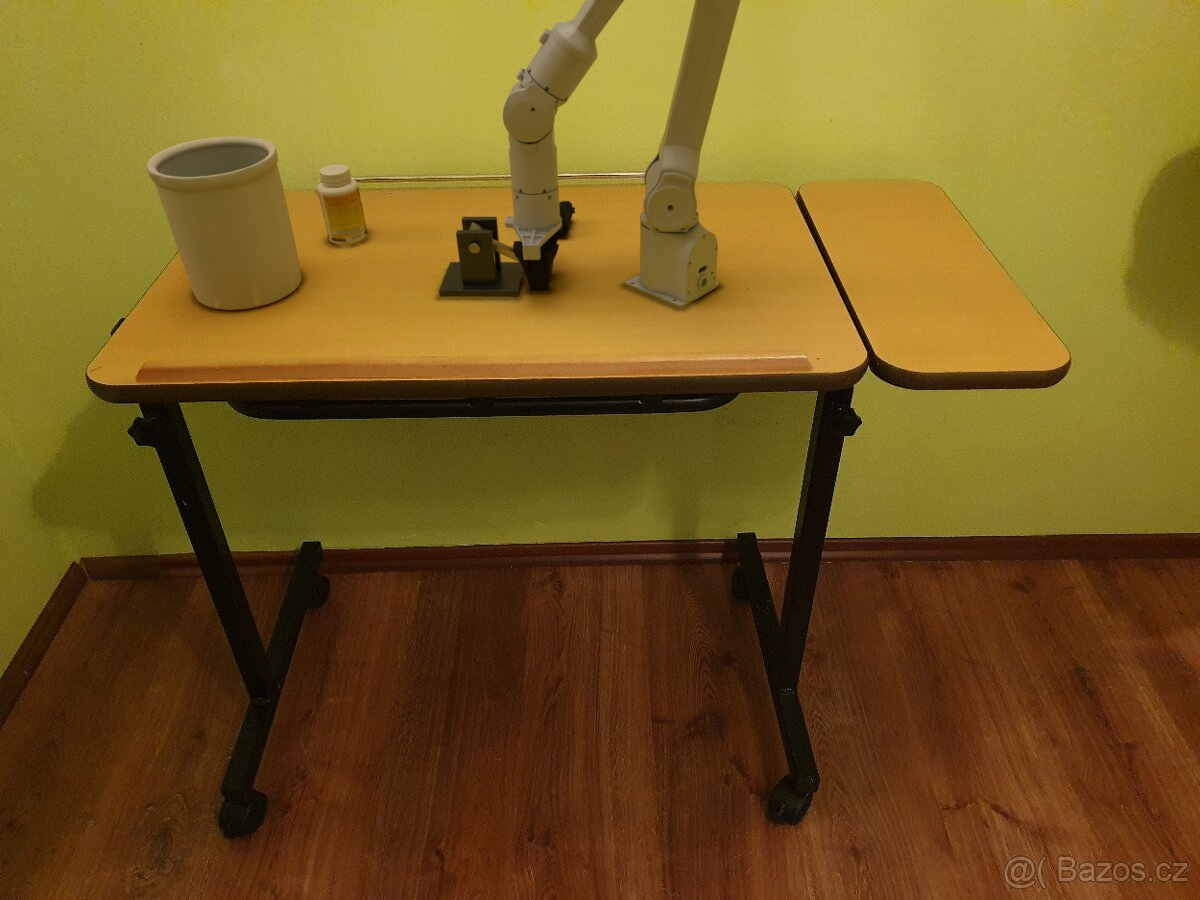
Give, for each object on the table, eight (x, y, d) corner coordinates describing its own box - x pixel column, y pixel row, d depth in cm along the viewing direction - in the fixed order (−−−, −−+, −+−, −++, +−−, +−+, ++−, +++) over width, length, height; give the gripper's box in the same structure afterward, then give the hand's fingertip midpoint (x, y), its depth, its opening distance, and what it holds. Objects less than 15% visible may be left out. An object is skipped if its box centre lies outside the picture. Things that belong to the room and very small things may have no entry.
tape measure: (568, 242, 127) (567, 217, 125) (520, 240, 128) (518, 216, 126) (575, 222, 133) (575, 198, 130) (530, 220, 134) (528, 196, 131)
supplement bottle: (375, 239, 130) (361, 169, 124) (339, 250, 127) (324, 180, 121) (357, 227, 133) (343, 158, 127) (322, 237, 131) (306, 168, 124)
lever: (547, 274, 119) (557, 254, 117) (544, 286, 116) (554, 265, 114) (465, 238, 116) (474, 217, 114) (461, 249, 114) (469, 228, 112)
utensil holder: (213, 261, 126) (173, 135, 115) (319, 259, 125) (289, 132, 114) (173, 314, 114) (124, 179, 103) (290, 311, 114) (254, 176, 103)
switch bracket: (524, 270, 121) (519, 211, 116) (517, 299, 115) (512, 238, 110) (451, 269, 122) (443, 211, 117) (439, 298, 115) (430, 238, 110)
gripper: (510, 163, 116) (517, 260, 124) (493, 209, 104) (503, 313, 113) (564, 163, 115) (568, 261, 124) (554, 210, 104) (559, 313, 112)
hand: (541, 286), depth 118 cm, fingers closed on lever, 3 cm apart
